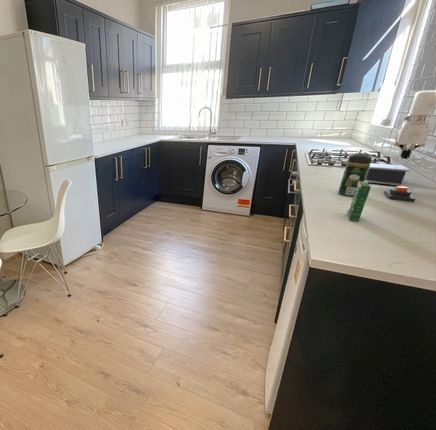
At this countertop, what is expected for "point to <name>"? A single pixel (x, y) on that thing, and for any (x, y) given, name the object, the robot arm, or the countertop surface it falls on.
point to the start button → (401, 188)
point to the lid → (388, 167)
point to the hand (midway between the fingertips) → (403, 158)
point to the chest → (385, 177)
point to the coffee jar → (354, 173)
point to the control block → (399, 195)
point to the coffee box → (359, 200)
